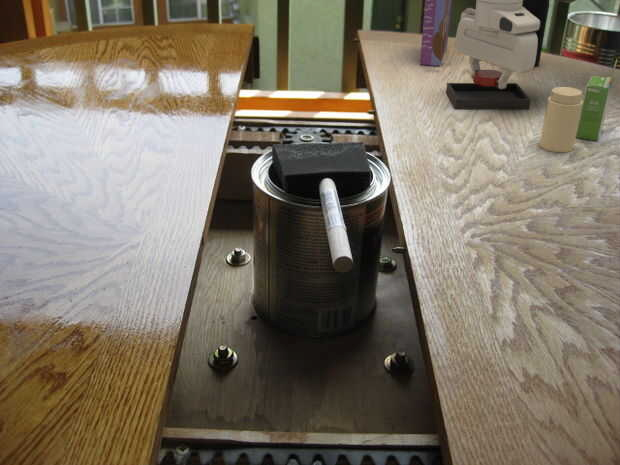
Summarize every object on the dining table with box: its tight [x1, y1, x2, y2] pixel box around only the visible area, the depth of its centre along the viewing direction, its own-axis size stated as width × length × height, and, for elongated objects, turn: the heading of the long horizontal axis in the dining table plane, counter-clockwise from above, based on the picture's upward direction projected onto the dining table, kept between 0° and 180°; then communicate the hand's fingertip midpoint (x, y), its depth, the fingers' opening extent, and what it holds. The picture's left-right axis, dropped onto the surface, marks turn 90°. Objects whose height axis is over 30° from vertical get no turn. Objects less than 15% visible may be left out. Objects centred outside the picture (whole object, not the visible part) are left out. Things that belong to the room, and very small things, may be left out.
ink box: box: [576, 58, 618, 141], centre depth 119 cm, size 7×4×13 cm, turn 152°
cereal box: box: [419, 0, 453, 67], centre depth 164 cm, size 17×5×24 cm, turn 164°
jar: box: [539, 86, 583, 153], centre depth 115 cm, size 6×6×10 cm
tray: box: [445, 82, 532, 110], centre depth 139 cm, size 15×11×2 cm
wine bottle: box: [522, 0, 550, 68], centre depth 157 cm, size 6×6×30 cm
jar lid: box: [472, 69, 502, 87], centre depth 137 cm, size 6×6×2 cm
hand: (488, 83), depth 138 cm, fingers closed on jar lid, 6 cm apart
